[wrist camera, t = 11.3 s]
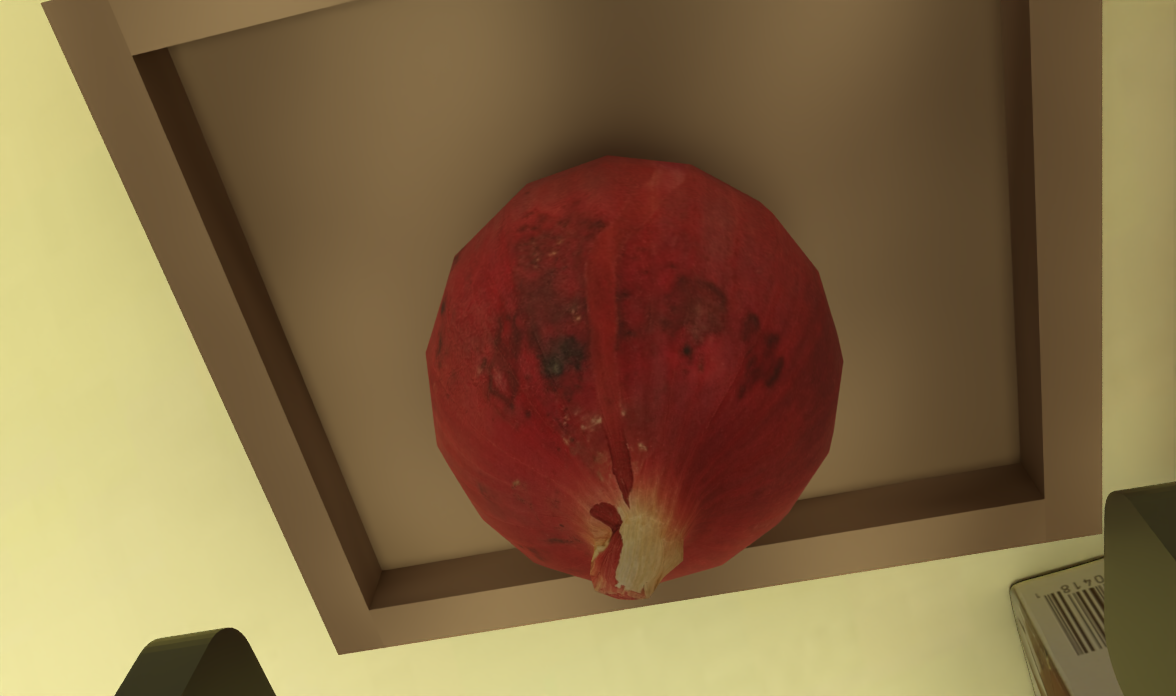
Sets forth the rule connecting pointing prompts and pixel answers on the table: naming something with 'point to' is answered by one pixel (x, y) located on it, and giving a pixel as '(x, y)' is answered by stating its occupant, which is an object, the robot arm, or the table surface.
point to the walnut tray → (635, 130)
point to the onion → (633, 372)
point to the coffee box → (1065, 632)
